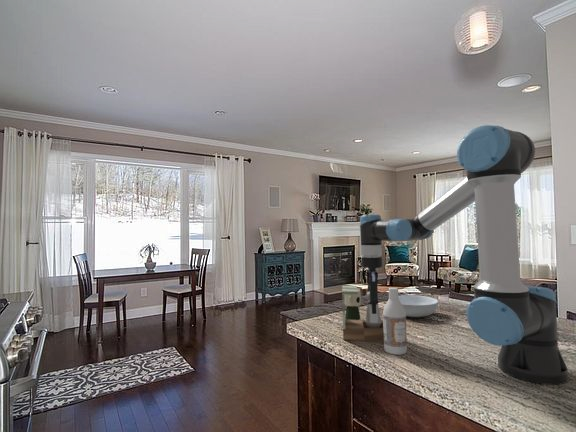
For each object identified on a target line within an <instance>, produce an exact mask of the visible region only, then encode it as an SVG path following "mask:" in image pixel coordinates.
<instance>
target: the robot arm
mask: <svg viewBox="0 0 576 432" xmlns="http://www.w3.org/2000/svg"><path fill="white" fill-rule="evenodd" d="M535 155H536V147H535V143H534V142H533V140H532V139H531V137H530V136H528V135H527V134H524V133H523V132H520V131H516V130H512V129H508V128H505V127H503V126H500V125H492V124H491V125H489V124H487V125H486V124H485V125H480V126H477V127H475V128H473V129H472V130H470V131H469V132H468V131H467V133H466V134H465V135H464V136H463V138H462V139H461V141H460V142H459V144H458V147H457V151H456V158H457V162H458V164H459V165H460V167H462V168H463V169H464V170H465V171H466V176H465V177H463V179H461V180H460V181H459V182H457V183H456V184H455V185H454V186H453V187H451V188H450V189H449V190H447V191H446V192H445V193H443V194H442V195H441V196H440V197H438V198H437V199H435V200H434V201H433V202H431V204H430V205H428V206H427V207H425V208H424V209H423V210H422V211H420V212H419V213H418V214H417V215H415V216H414V217H413V218H405V219H404V218H391V219H390V218H389V219H382V217H381V214H363V215H361V216H360V218H359V219H360V221H359V228H360V229H359V230H360V231H359V232H360V256H362V257H360V262H361V263H360V264H361V265H360V266H361V267H362V268H365V269H367V271H366V272H365V274H366V283H367V292H369V291H370V302H368V301H367V305H368V304H370V323H378V307H379V297H378V295H379V292H378V284H379V283H378V281H379V279H378V277H379V273H378V271H377V270H376V269H379V268H382V267H383V258H382V254H383V253H382V251H383V250H384V247H383V246H382V241H383V242H384V241H386V242H396V243H397V242H406V241H414V240H415V241H423V240H426V239H430V238H431V237H432V235H433V234H434V230H436V229H437V228H439V227H440V226H441V225H444V224H445V223H446V222H448V221H449V220H451V219H452V218H453V217H455V216H456V215H457V214H458V213H461V212H462V211H463V210H465V209H466V208H467V207H470V206H471V205H472V204H474V203H475V204H474V205H475V219H476V234H477V235H476V237H477V238H476V239H477V253H478V268H479V281H477V282H476V283H475V284H474V285H473V296H474V298H473V299H472V300H471V302H469V304H468V306H467V308H466V312H465V313H466V319H467V323H468V325H469V328H471V330H472V331H473V332H474V333H475V334H476V335H477V337H478V338H479V339H481V340H482V341H484V342H486V343H488V344H491V345H492V346H498V347H500V346H501V347H500V350H499V353H498V355H497V366H498V368H499V369H500V370H501V371H502V372H504V373H505V374H508V375H509V376H512V377H514V378H517V379H520V380H524V381H525V382H526V381H527V382H531V383H535V382H536V384H541V383H543V384H544V385H562V384H565V383H567V382H568V381H569V380H570V379H569V371H568V367H567V364H566V362H565V360H564V357H563V356H562V352H561V351H560V348H559V344H558V343H559V342H558V338H559V337H558V319H557V300H556V293H555V292H554V290H553V289H551V288H549V287H542V286H535V285H534V286H533V285H527V284H524V283H523V282H522V280H521V267H520V253H519V237H518V224H517V209H516V193H515V184H516V183H517V182H518V181H519V180H520V179H521V177H522V174H523V173H524V172H525V171H526V170H527V169H528V168H529V167H530V166H531V165H532V163H533V162H534V159H535Z"/></svg>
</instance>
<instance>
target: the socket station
mask: <svg viewBox="0 0 576 432" xmlns="http://www.w3.org/2000/svg"><path fill="white" fill-rule="evenodd" d="M357 289H358V287H357V285H342V286H341V296H342V297H341V301H342V302H341V304H342V338H343V339H342V341H351V342H352V341H353V342H354V341H356V342H373V343H374V342H381V343H384V330H383V319H381V321H382V322H381V325H380V328H368V327H367V325H366V322H365V319H360V320H347V319H345V315H346V305H345V295H358V290H357Z"/></svg>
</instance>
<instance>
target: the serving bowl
mask: <svg viewBox="0 0 576 432" xmlns="http://www.w3.org/2000/svg"><path fill="white" fill-rule="evenodd" d="M398 299H399V301H400V303H401V304H402V306H403V307H404V310H405V314H406V318H407V317H408V318H423V317H427V316H430V315H432V314H434V313H435V312H436V311H437V309H438V307H439V300H438V299H437V298H434V297H431V296H423V295H414V294H413V295H412V294H411V295H409V294H406V295H405V294H402V295H398ZM388 300H389V298H388ZM388 300H387V301H388Z"/></svg>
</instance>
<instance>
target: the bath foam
mask: <svg viewBox="0 0 576 432" xmlns="http://www.w3.org/2000/svg"><path fill="white" fill-rule="evenodd" d="M398 296H399V288H398V287H388V299H389V300H387V302H386V303H385V305H384V307H383V313H382V320H383V330H384V342H383V349H384V352H386V353H388V354H391V355H395V356H397V355H398V356H400V355H405V354H406V353H407V351H408V346H407V344H408V343H407V341H408V340H407V337H408V336H407V316H406V314H405V310H404V307H403V306H402V304H401V303H400V301H399V299H398Z"/></svg>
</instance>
